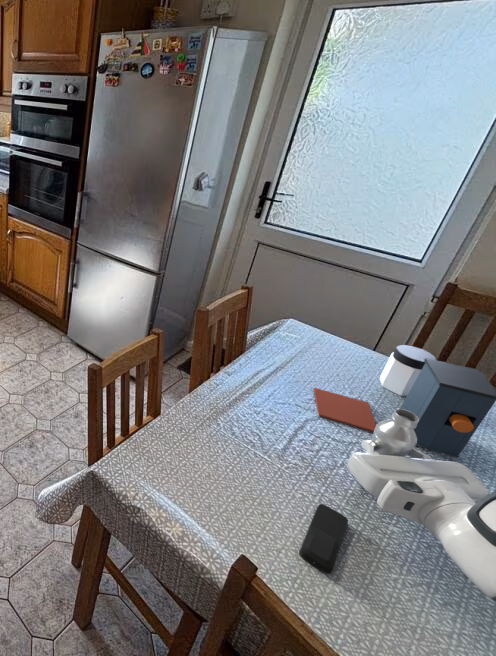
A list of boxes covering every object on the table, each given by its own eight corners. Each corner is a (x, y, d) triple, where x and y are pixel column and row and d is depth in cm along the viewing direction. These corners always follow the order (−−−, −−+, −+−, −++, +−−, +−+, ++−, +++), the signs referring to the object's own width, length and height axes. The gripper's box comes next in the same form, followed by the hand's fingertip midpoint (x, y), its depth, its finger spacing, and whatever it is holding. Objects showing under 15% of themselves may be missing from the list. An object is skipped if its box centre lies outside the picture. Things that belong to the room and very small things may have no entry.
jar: (403, 378, 122) (420, 345, 117) (427, 397, 115) (447, 363, 110) (370, 377, 123) (386, 344, 118) (392, 396, 116) (410, 361, 110)
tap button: (465, 427, 94) (472, 417, 93) (469, 434, 93) (476, 424, 91) (446, 422, 96) (452, 411, 95) (450, 429, 94) (456, 418, 93)
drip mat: (367, 404, 113) (368, 402, 113) (377, 433, 104) (378, 431, 103) (313, 389, 119) (314, 387, 118) (318, 416, 109) (319, 414, 109)
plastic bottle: (382, 477, 93) (423, 410, 84) (390, 501, 87) (434, 432, 79) (346, 465, 95) (381, 399, 87) (352, 487, 90) (390, 419, 82)
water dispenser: (443, 429, 105) (480, 370, 97) (459, 459, 97) (501, 397, 89) (393, 415, 109) (425, 357, 101) (405, 442, 101) (440, 382, 93)
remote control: (317, 507, 87) (297, 555, 78) (320, 501, 86) (300, 549, 77) (346, 523, 84) (329, 576, 74) (349, 518, 83) (333, 570, 74)
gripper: (515, 499, 72) (447, 438, 85) (385, 486, 75) (337, 428, 87) (496, 522, 75) (433, 459, 87) (371, 508, 78) (327, 449, 90)
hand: (384, 443), depth 87 cm, fingers closed on plastic bottle, 6 cm apart
